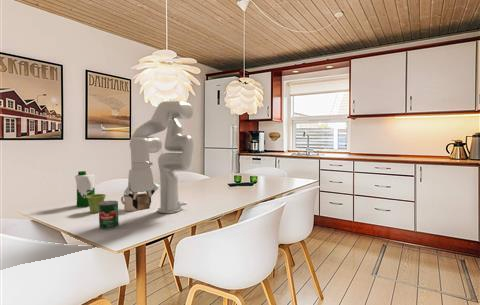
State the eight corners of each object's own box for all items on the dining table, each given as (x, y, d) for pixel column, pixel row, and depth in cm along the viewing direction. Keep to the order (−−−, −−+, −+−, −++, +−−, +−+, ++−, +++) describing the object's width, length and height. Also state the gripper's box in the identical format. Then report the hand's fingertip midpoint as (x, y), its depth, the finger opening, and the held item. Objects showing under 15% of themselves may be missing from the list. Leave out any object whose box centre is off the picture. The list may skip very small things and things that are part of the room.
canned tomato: (115, 223, 130) (114, 199, 130) (121, 227, 125) (120, 202, 124) (96, 226, 125) (96, 202, 125) (102, 230, 119) (101, 205, 119)
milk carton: (84, 203, 170) (83, 170, 169) (98, 204, 168) (97, 170, 167) (73, 206, 161) (72, 172, 160) (87, 207, 159) (87, 172, 158)
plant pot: (98, 214, 145) (97, 197, 145) (82, 213, 147) (82, 197, 147) (110, 209, 154) (109, 194, 154) (95, 209, 156) (94, 193, 156)
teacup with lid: (144, 208, 158) (144, 187, 158) (134, 212, 150) (134, 190, 149) (126, 206, 162) (126, 186, 161) (115, 210, 153) (115, 189, 153)
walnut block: (145, 206, 128) (145, 193, 127) (149, 208, 124) (149, 195, 123) (134, 208, 125) (134, 194, 124) (138, 210, 121) (137, 197, 120)
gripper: (156, 163, 131) (157, 201, 132) (117, 166, 120) (119, 208, 122) (162, 165, 125) (163, 204, 126) (122, 168, 114) (124, 212, 116)
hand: (142, 206), depth 124 cm, fingers closed on walnut block, 5 cm apart
